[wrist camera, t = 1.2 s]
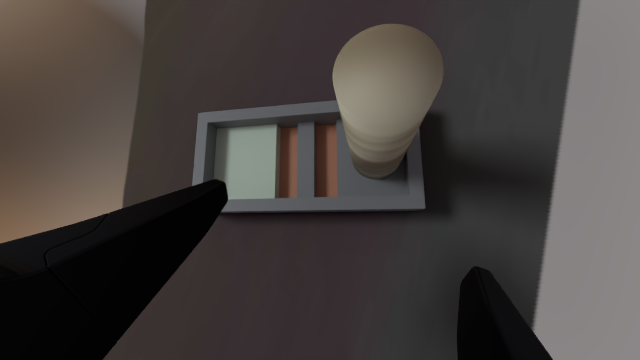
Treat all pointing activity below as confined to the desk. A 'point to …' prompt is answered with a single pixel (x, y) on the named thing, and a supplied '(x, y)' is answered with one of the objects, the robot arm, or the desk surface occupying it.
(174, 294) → the desk surface
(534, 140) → the desk surface
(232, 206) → the box
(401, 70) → the beige tall rounded piece
